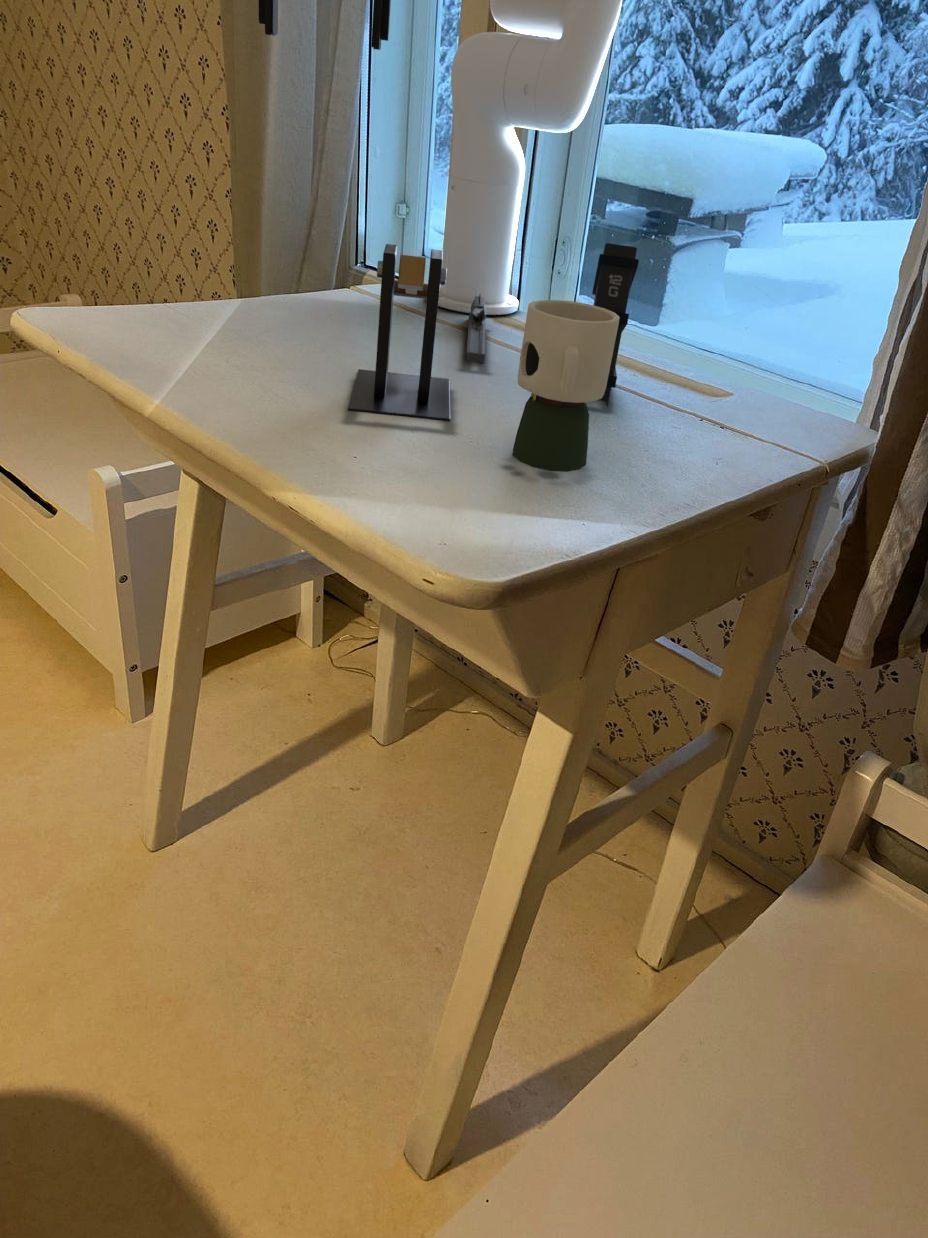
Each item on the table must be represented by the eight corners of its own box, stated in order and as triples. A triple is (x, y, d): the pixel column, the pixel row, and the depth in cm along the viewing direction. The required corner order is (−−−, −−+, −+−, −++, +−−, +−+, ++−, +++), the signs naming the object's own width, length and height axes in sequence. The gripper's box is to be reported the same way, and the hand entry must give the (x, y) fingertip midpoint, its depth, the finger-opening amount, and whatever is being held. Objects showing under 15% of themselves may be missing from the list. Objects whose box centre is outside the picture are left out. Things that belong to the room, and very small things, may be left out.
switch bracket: (357, 381, 92) (366, 233, 85) (448, 391, 93) (464, 245, 86) (347, 422, 82) (355, 257, 75) (448, 433, 83) (466, 270, 76)
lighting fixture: (488, 376, 100) (493, 336, 98) (464, 373, 100) (468, 333, 97) (488, 331, 116) (492, 296, 114) (467, 328, 116) (471, 293, 113)
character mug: (505, 441, 82) (527, 289, 76) (584, 451, 83) (613, 300, 76) (504, 488, 73) (528, 320, 66) (593, 500, 73) (627, 333, 67)
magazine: (574, 399, 90) (602, 241, 88) (570, 418, 103) (594, 280, 101) (613, 405, 89) (641, 246, 88) (603, 423, 102) (628, 285, 101)
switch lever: (383, 300, 93) (385, 274, 92) (438, 306, 93) (440, 281, 93) (378, 281, 80) (381, 251, 79) (442, 288, 80) (445, 259, 80)
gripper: (435, -174, 81) (418, 54, 90) (234, -205, 80) (236, 30, 88) (435, -194, 75) (416, 54, 83) (216, -228, 73) (220, 28, 82)
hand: (323, 41), depth 86 cm, fingers open, 9 cm apart
